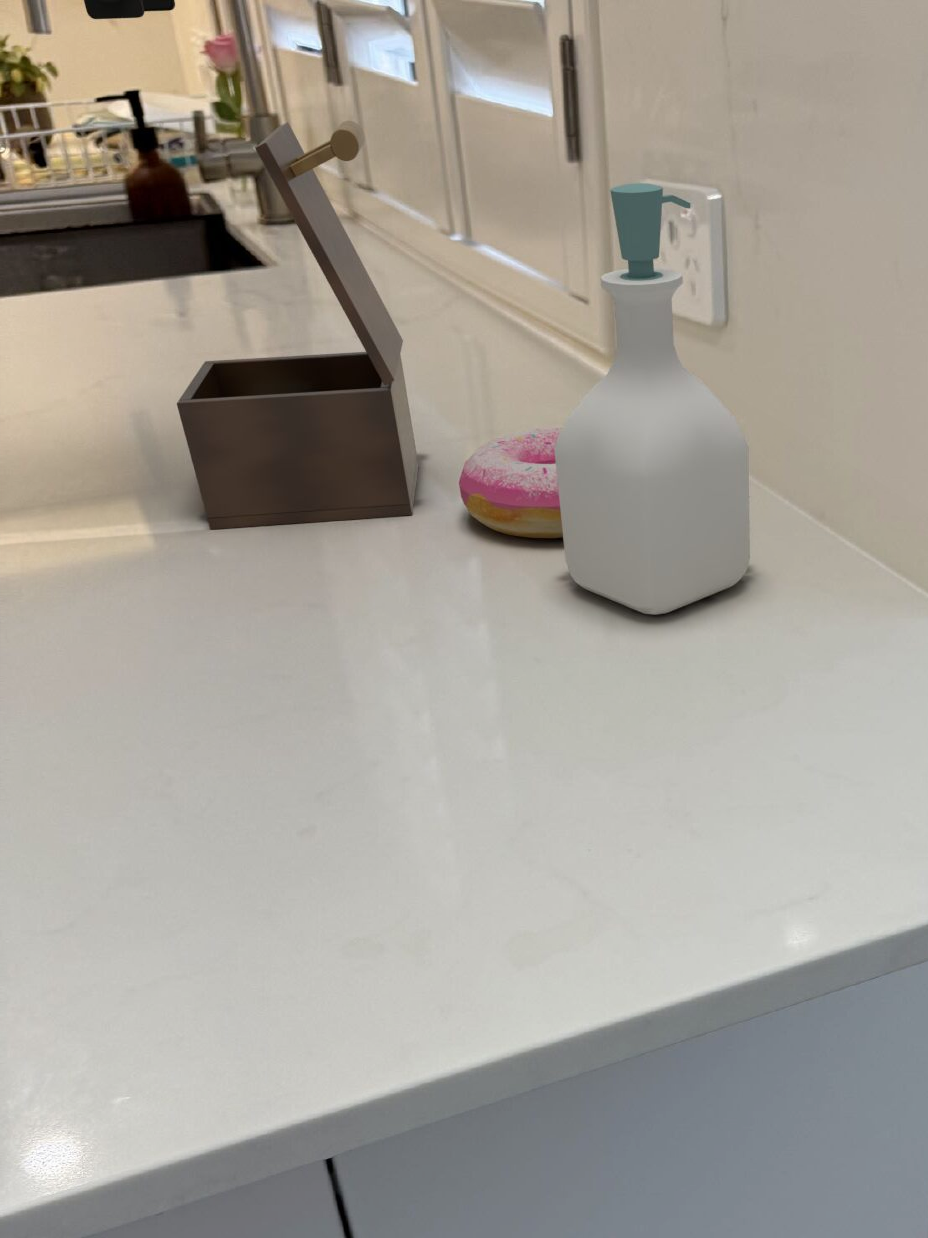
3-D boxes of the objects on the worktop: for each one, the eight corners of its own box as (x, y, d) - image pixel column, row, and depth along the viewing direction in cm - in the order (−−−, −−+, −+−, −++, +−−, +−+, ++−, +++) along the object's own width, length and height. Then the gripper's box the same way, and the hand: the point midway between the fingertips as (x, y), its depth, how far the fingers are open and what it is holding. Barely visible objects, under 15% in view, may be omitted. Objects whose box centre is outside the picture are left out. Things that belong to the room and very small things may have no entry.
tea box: (209, 529, 96) (176, 403, 91) (234, 478, 105) (204, 361, 100) (412, 515, 98) (390, 390, 92) (418, 466, 107) (399, 349, 101)
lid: (254, 148, 83) (333, 107, 82) (278, 127, 92) (348, 90, 91) (384, 385, 92) (456, 351, 91) (394, 345, 101) (459, 313, 100)
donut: (518, 478, 104) (510, 412, 101) (675, 494, 100) (672, 425, 97) (432, 538, 94) (420, 466, 91) (603, 557, 90) (597, 484, 87)
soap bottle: (763, 585, 86) (761, 181, 72) (653, 631, 80) (627, 205, 66) (664, 548, 91) (643, 167, 77) (555, 589, 86) (512, 188, 72)
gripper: (13, -346, 78) (104, 10, 89) (-86, -405, 65) (35, 24, 75) (144, -347, 79) (218, 7, 89) (72, -405, 65) (170, 19, 76)
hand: (134, 14), depth 82 cm, fingers open, 9 cm apart
